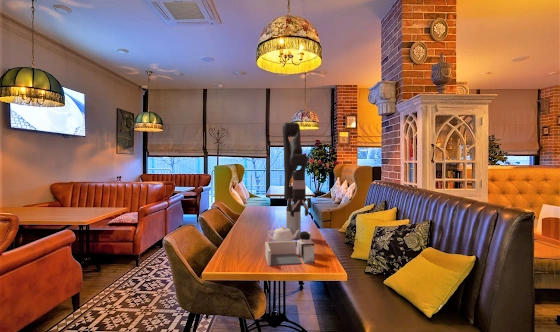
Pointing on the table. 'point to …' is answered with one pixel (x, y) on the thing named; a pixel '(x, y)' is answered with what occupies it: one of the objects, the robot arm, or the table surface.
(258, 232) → the table surface
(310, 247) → the bracket
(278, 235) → the teapot
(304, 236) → the medicine bottle
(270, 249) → the corner walls
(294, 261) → the slate mat
